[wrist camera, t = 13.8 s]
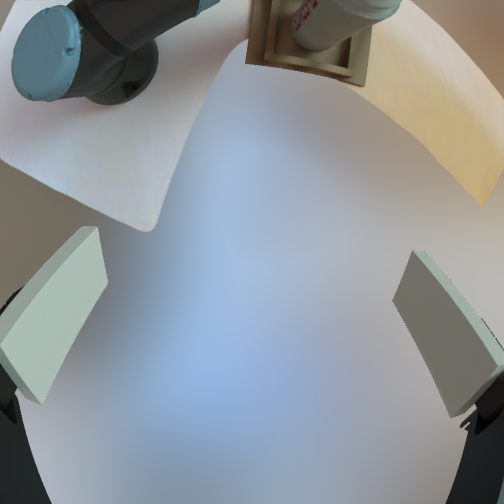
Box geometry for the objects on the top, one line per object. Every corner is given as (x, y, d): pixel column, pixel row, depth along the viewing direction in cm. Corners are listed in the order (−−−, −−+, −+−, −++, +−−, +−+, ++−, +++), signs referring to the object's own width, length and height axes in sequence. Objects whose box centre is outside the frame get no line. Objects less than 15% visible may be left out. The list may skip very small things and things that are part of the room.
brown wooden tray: (245, 63, 38) (245, 61, 36) (257, -16, 30) (257, -21, 28) (363, 86, 40) (368, 86, 37) (372, 10, 32) (377, 6, 30)
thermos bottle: (284, 42, 36) (329, -24, 12) (296, 4, 32) (347, -82, 8) (331, 58, 37) (425, 23, 13) (342, 20, 33) (434, -38, 9)
